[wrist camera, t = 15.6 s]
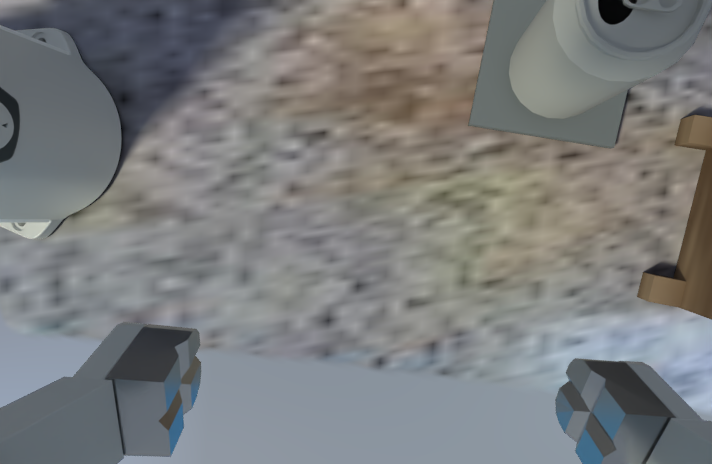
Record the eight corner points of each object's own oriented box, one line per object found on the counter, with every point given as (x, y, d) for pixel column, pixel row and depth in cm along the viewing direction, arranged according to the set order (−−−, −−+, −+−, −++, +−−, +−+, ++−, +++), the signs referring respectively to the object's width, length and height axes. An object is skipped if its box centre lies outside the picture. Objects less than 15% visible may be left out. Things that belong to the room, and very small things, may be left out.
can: (520, 13, 32) (589, -103, 20) (621, 31, 31) (755, -77, 19) (495, 110, 32) (546, 55, 20) (592, 130, 32) (705, 86, 20)
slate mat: (468, 125, 33) (469, 124, 33) (494, -3, 32) (495, -6, 32) (610, 148, 32) (614, 147, 31) (641, 16, 31) (645, 13, 31)
